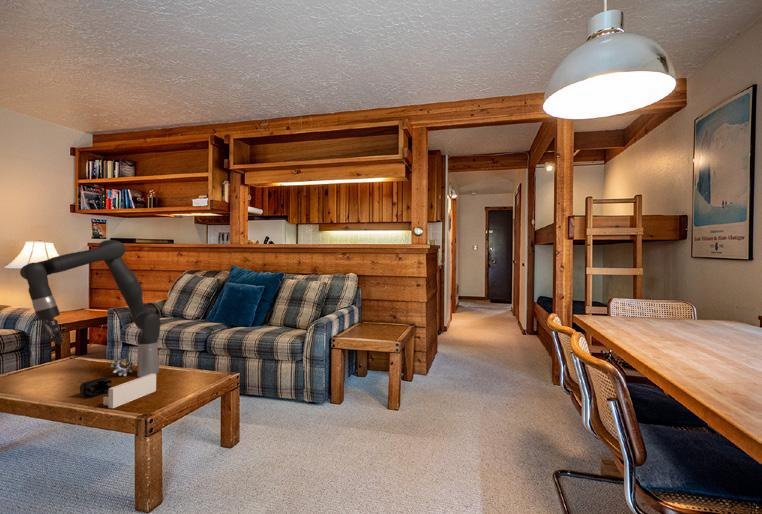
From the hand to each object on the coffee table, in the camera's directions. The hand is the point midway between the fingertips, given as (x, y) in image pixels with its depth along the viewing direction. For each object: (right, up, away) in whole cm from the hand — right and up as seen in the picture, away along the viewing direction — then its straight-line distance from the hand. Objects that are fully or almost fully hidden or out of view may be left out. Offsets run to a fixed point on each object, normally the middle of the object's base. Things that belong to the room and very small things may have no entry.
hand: (58, 342), depth 169 cm
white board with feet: (+29, -25, +3) cm, 39 cm away
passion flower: (+3, -26, +36) cm, 44 cm away
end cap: (+11, -26, +7) cm, 29 cm away
